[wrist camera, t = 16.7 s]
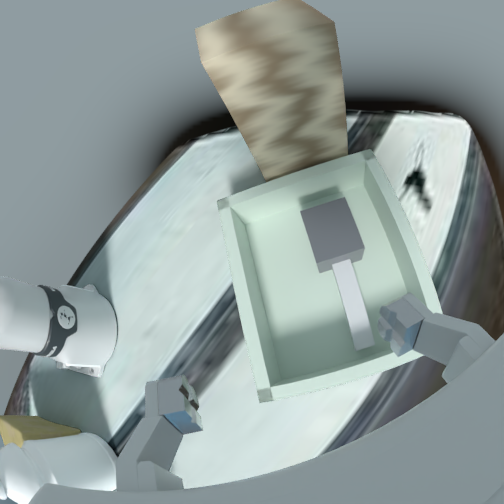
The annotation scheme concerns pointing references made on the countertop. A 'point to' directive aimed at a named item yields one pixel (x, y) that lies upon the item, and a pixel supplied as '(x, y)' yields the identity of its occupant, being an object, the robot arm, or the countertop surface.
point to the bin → (318, 276)
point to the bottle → (56, 465)
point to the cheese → (31, 429)
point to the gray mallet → (340, 260)
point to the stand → (280, 83)
